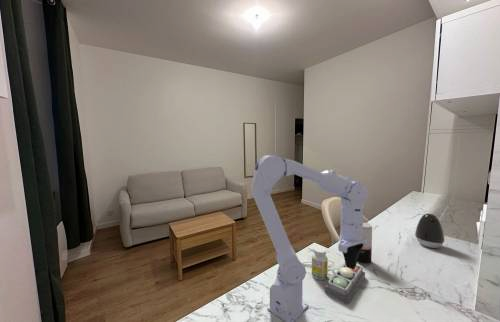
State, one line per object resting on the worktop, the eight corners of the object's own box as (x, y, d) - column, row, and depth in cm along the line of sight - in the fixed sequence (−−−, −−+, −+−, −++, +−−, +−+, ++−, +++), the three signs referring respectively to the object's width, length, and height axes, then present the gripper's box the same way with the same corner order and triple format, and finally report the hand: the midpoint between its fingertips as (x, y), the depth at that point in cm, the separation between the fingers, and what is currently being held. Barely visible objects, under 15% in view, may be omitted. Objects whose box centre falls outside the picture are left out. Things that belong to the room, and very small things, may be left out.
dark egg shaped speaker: (420, 248, 91) (421, 215, 90) (411, 239, 100) (412, 209, 100) (449, 252, 87) (450, 218, 86) (437, 242, 97) (438, 211, 96)
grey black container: (357, 254, 86) (357, 220, 85) (374, 261, 81) (374, 224, 80) (350, 259, 82) (350, 224, 81) (367, 267, 77) (368, 228, 76)
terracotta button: (355, 276, 68) (356, 271, 68) (343, 271, 70) (343, 267, 70) (359, 271, 70) (359, 266, 70) (347, 266, 73) (347, 262, 73)
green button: (344, 292, 60) (344, 287, 60) (331, 286, 63) (331, 281, 62) (348, 286, 63) (348, 281, 63) (335, 280, 65) (336, 275, 65)
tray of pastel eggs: (348, 304, 58) (348, 292, 58) (324, 292, 63) (325, 281, 63) (364, 277, 70) (365, 267, 70) (344, 269, 75) (344, 260, 75)
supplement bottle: (315, 281, 68) (315, 253, 68) (309, 271, 74) (309, 246, 73) (330, 280, 69) (330, 253, 69) (323, 270, 74) (323, 245, 74)
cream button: (350, 280, 64) (350, 275, 64) (337, 275, 66) (337, 270, 66) (354, 275, 66) (354, 270, 66) (342, 270, 69) (342, 265, 69)
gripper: (358, 232, 50) (357, 285, 51) (373, 218, 60) (372, 262, 61) (330, 225, 55) (330, 273, 56) (348, 213, 65) (348, 254, 66)
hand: (350, 267), depth 59 cm, fingers closed
